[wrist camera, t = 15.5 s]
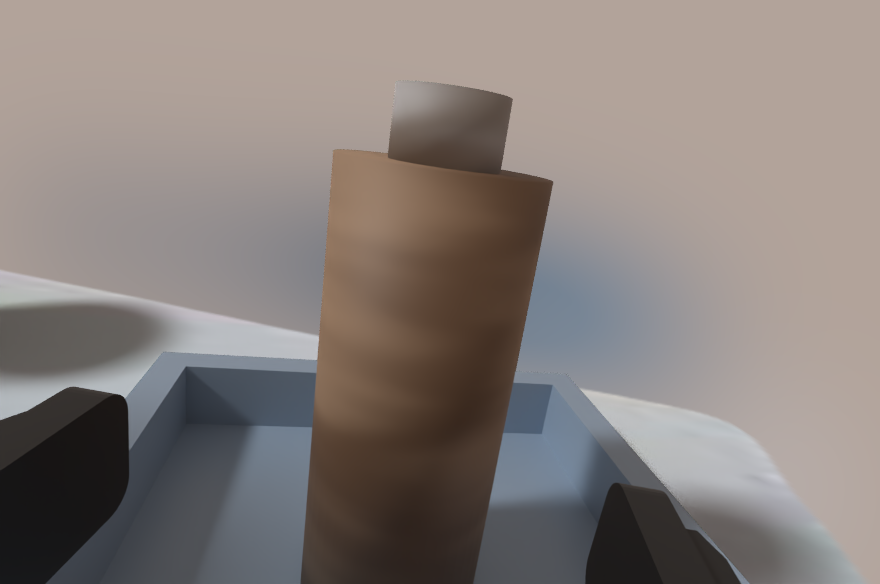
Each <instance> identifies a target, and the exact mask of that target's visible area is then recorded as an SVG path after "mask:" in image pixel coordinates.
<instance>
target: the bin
mask: <svg viewBox="0 0 880 584" xmlns="http://www.w3.org/2000/svg"><path fill="white" fill-rule="evenodd" d="M316 373H317V360H303V359H284V358H266V357H248V356H230V355H212V354H193V353H175V352H163V353H162V354H161V355H160V356H159V358H158V359H157V360H156V361H155V363H154V364H153V365H152V366H151V367H150V369H149V370H148V371H147V372H146V374H145V375H144V376H143V377H142V379H141V380H140V381H139V382H138V384H137V385H136V386H135V387H134V388H133V390H132V391H131V392H130V393H129V395H128V396H127V397H126V398H125V400H126V402H127V405H128V423H129V482H128V486H127V490H126V493H125V495H124V498H123V500H122V502H121V504H120V505H119V507H118V509H117V510H116V511H115V513H114V514H113V515H112V516H111V517H110V519H109V520H108V521H107V522H106V523H105V524H104V525H103V526H102V527H101V528H100V529H99V530H98V531H97V532H96V533H95V534H94V535H93V536H92V537H91V538H90V539H89V540H88V541H87V542H86V543H85V544H84V545H83V546H82V547H81V548H80V549H79V550H78V551H77V552H76V553H75V554H74V555H73V556H72V557H71V558H70V559H69V560H68V561H67V562H66V563H65V564H64V565H63V566H62V567H61V568H60V570H59V571H58V572H57V573H56V574H55V575H54V576H53V577H52V578H51V579H50V580H49V581H48V582H47V583H46V584H301V569H302V556H303V543H304V530H305V517H306V503H307V490H308V477H309V464H310V451H311V438H312V425H313V412H314V399H315V386H316ZM615 482H616V483H622V484H628V485H633V486H639V487H645V488H650V489H656V490H661V491H663V492H665V493H666V494H667V496H668V497H669V499H670V501H671V503H672V504H673V506H674V508H675V510H676V512H677V513H678V515H679V517H680V519H681V521H682V523H683V524H684V526H685V528H686V529H690V530H696V531H698V532H699V533H700V534H701V535H702V536H703V537H704V538H705V539H706V540H707V541H708V542H709V543H710V544H711V545H712V546H713V547H714V548H715V549H716V550H717V551H718V552H720V553H721V554H722V555H723V556H724V557H725V558H726V559H727V561H728V563H729V564H730V566H731V567H732V569H733V571H734V572H735V574H736V576H737V577H738V579H739V581H740V582H741V584H750V583H749V582H748V581H747V580H746V579H745V578H744V576H743V575H742V574H741V573H740V572H739V571H738V570H737V568H736V567H735V566H734V565H733V564H732V563H731V562H730V560H729V559H728V558H727V557H726V556H725V555H724V554H723V552H722V551H721V550H720V549H719V548H718V547H717V546H716V544H715V543H714V542H713V541H712V540H711V539H710V538H709V536H708V535H707V534H706V533H705V532H704V531H703V529H702V528H701V527H700V526H699V525H698V524H697V523H696V521H695V520H694V519H693V518H692V517H691V516H690V515H689V513H688V512H687V511H686V510H685V509H684V508H683V507H682V505H681V504H680V503H679V502H678V501H677V500H676V499H675V497H674V496H673V495H672V494H671V493H670V492H669V491H668V489H667V488H666V487H665V486H664V485H663V484H662V483H661V481H660V480H659V479H658V478H657V477H656V476H655V475H654V473H653V472H652V471H651V470H650V469H649V468H648V467H647V465H646V464H645V463H644V462H643V461H642V460H641V459H640V457H639V456H638V455H637V454H636V453H635V452H634V451H633V449H632V448H631V447H630V446H629V445H628V444H627V443H626V441H625V440H624V439H623V438H622V437H621V436H620V435H619V433H618V432H617V431H616V430H615V429H614V428H613V427H612V425H611V424H610V423H609V422H608V421H607V420H606V419H605V417H604V416H603V415H602V414H601V413H600V412H599V410H598V409H597V408H596V407H595V406H594V405H593V404H592V402H591V401H590V400H589V399H588V398H587V397H586V396H585V394H584V393H583V392H582V391H581V390H580V389H579V388H578V386H577V385H576V384H575V383H574V382H573V381H572V380H571V378H570V377H569V376H568V375H567V374H558V373H539V372H521V371H515V377H514V382H513V387H512V392H511V397H510V402H509V407H508V412H507V417H506V422H505V427H504V432H503V437H502V442H501V447H500V452H499V457H498V462H497V467H496V472H495V477H494V482H493V487H492V492H491V497H490V502H489V507H488V512H487V517H486V522H485V527H484V532H483V537H482V542H481V547H480V552H479V557H478V562H477V567H476V572H475V577H474V582H473V584H585V575H586V565H587V560H588V556H589V552H590V549H591V546H592V542H593V539H594V536H595V532H596V529H597V526H598V522H599V519H600V516H601V512H602V509H603V506H604V502H605V499H606V496H607V493H608V490H609V488H610V487H611V485H612V484H613V483H615Z"/></svg>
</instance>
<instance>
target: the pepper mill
mask: <svg viewBox="0 0 880 584" xmlns="http://www.w3.org/2000/svg"><path fill="white" fill-rule="evenodd" d="M512 100H513V99H512V98H510V97H508V96H505V95H501V94H497V93H493V92H489V91H484V90H479V89H473V88H468V87H462V86H455V85H448V84H441V83H432V82H420V81H396V85H395V95H394V103H393V113H392V122H391V131H390V141H389V151H388V153H380V152H370V151H359V150H344V149H343V150H342V149H337V150H334V151H333V163H332V177H331V189H330V202H329V216H328V229H327V242H326V256H325V268H324V281H323V295H322V308H321V321H320V333H319V346H318V359H317V373H316V386H315V399H314V412H313V425H312V438H311V451H310V464H309V477H308V490H307V503H306V517H305V530H304V543H303V556H302V569H301V584H473V582H474V577H475V572H476V567H477V562H478V557H479V552H480V547H481V542H482V537H483V532H484V527H485V522H486V517H487V512H488V507H489V502H490V497H491V492H492V487H493V482H494V477H495V472H496V467H497V462H498V457H499V452H500V447H501V442H502V437H503V432H504V427H505V422H506V417H507V412H508V407H509V402H510V397H511V392H512V387H513V382H514V377H515V371H516V366H517V361H518V356H519V351H520V346H521V341H522V336H523V331H524V326H525V321H526V316H527V311H528V306H529V301H530V296H531V291H532V286H533V281H534V276H535V271H536V266H537V261H538V255H539V251H540V246H541V241H542V236H543V231H544V226H545V221H546V216H547V211H548V206H549V201H550V196H551V191H552V185H553V181H551V180H548V179H544V178H540V177H536V176H531V175H527V174H522V173H516V172H511V171H506V170H501V166H502V160H503V154H504V148H505V142H506V136H507V130H508V124H509V118H510V112H511V106H512Z"/></svg>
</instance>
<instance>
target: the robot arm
mask: <svg viewBox="0 0 880 584" xmlns="http://www.w3.org/2000/svg"><path fill="white" fill-rule="evenodd" d="M128 482H129V423H128V405H127V402H126V400H125V398H124V397H123V396H121V395H118V394H112V393H107V392H101V391H95V390H90V389H84V388H79V387H69V388H66V389H64V390H62V391H60V392H59V393H57V394H55V395H54V396H52V397H50V398H49V399H47V400H45V401H44V402H42V403H40V404H38V405H37V406H35V407H33V408H32V409H30V410H28V411H26V412H23V413H20V414H17V415H14V416H11V417H9V418H6V419H3V420H0V584H46V583H47V582H48V581H49V580H50V579H51V578H52V577H53V576H54V575H55V574H56V573H57V572H58V571H59V570H60V568H61V567H62V566H63V565H64V564H65V563H66V562H67V561H68V560H69V559H70V558H71V557H72V556H73V555H74V554H75V553H76V552H77V551H78V550H79V549H80V548H81V547H82V546H83V545H84V544H85V543H86V542H87V541H88V540H89V539H90V538H91V537H92V536H93V535H94V534H95V533H96V532H97V531H98V530H99V529H100V528H101V527H102V526H103V525H104V524H105V523H106V522H107V521H108V520H109V519H110V517H111V516H112V515H113V514H114V513H115V511H116V510H117V509H118V507H119V505H120V504H121V502H122V500H123V498H124V495H125V493H126V490H127V486H128ZM585 584H741V582H740V581H739V579H738V577H737V576H736V574H735V572H734V571H733V569H732V567H731V566H730V564H729V563H728V561H727V559H726V558H725V557H724V556H723V555H722V554H721V553H720V552H718V551H717V550H716V549H715V548H714V547H713V546H712V545H711V544H710V543H709V542H708V541H707V540H706V539H705V538H704V537H703V536H702V535H701V534H700V533H699V532H698V531H696V530H690V529H686V528H685V526H684V524H683V523H682V521H681V519H680V517H679V515H678V513H677V512H676V510H675V508H674V506H673V504H672V503H671V501H670V499H669V497H668V496H667V494H666V493H665V492H663V491H661V490H656V489H650V488H645V487H639V486H633V485H628V484H622V483H616V482H615V483H613V484H612V485H611V487H610V488H609V490H608V493H607V496H606V499H605V502H604V506H603V509H602V512H601V516H600V519H599V522H598V526H597V529H596V532H595V536H594V539H593V542H592V546H591V549H590V552H589V556H588V560H587V565H586V575H585Z"/></svg>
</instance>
